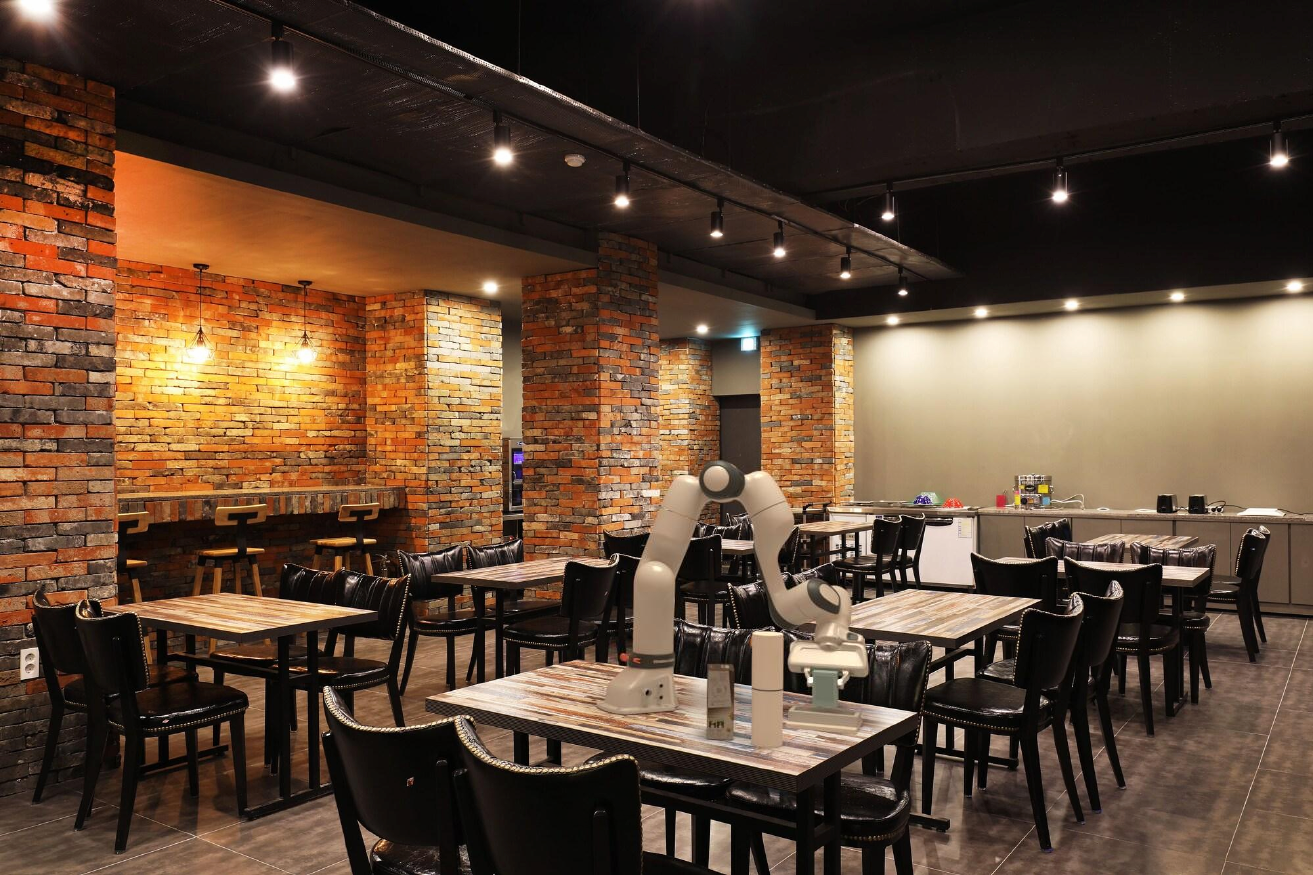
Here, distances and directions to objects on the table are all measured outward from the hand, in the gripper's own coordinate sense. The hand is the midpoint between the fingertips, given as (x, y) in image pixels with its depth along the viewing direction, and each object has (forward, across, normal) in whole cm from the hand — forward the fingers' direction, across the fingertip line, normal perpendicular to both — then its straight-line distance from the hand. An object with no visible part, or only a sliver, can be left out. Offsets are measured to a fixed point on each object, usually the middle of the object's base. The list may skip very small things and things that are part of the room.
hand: (824, 686), depth 236 cm
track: (+6, 0, +7) cm, 10 cm away
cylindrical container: (+23, -10, -10) cm, 27 cm away
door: (+3, 0, +4) cm, 5 cm away
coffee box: (+21, -22, -7) cm, 31 cm away
